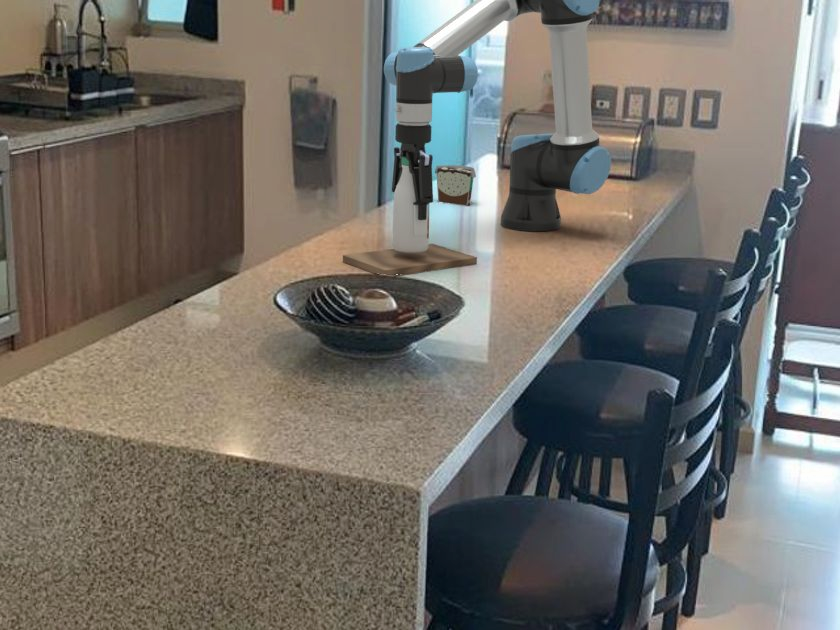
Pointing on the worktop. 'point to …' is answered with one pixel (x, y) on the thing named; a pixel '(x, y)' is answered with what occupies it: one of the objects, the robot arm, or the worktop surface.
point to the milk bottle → (407, 215)
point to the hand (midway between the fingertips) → (411, 230)
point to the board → (409, 260)
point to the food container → (455, 184)
